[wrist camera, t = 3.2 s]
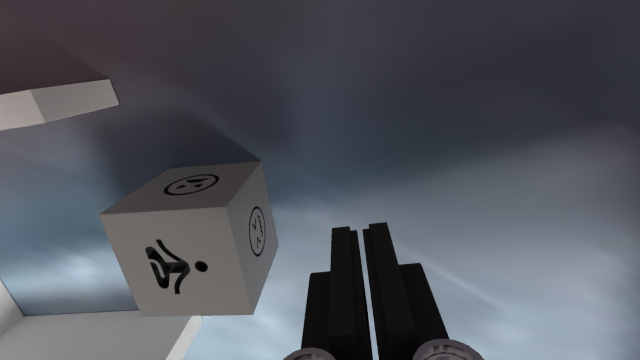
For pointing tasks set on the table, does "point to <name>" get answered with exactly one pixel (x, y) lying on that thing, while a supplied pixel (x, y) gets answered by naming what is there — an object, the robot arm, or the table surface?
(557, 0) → the table surface
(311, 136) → the table surface
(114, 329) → the box
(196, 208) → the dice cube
